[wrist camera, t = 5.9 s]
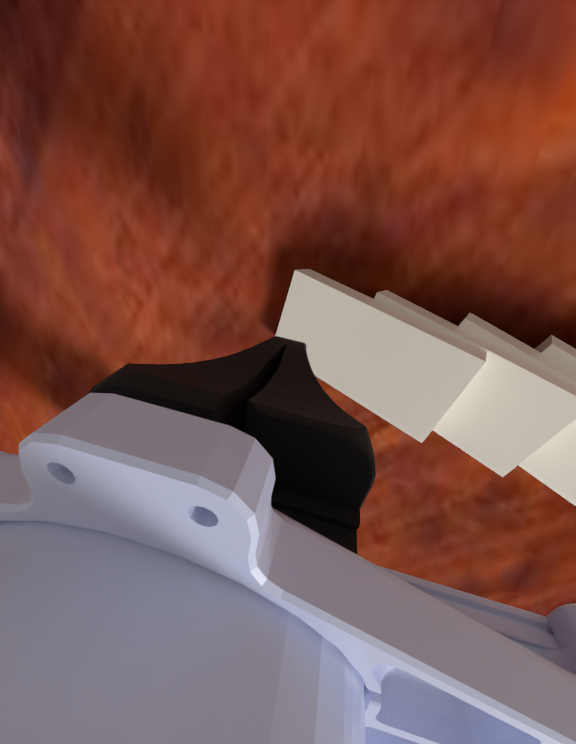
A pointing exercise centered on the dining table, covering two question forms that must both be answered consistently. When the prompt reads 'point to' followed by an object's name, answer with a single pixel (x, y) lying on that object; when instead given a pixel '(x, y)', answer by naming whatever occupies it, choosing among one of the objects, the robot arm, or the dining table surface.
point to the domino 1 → (378, 352)
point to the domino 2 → (498, 400)
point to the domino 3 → (568, 447)
